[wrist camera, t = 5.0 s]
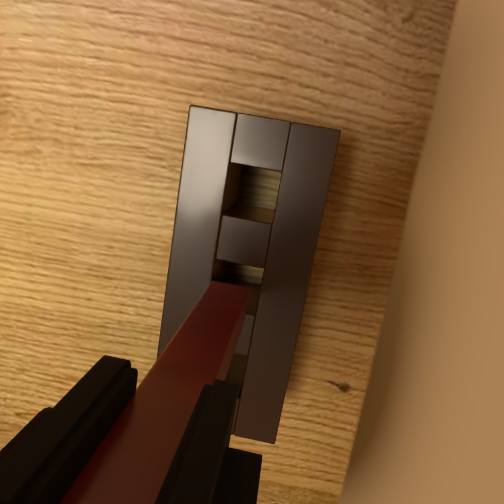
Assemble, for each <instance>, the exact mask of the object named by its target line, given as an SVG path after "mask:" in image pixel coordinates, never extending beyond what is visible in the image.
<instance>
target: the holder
mask: <svg viewBox="0 0 504 504" xmlns="http://www.w3.org/2000/svg"><path fill="white" fill-rule="evenodd" d="M340 133H341V130H338V129H332V128H326V127H321V126H315V125H309V124H303V123H297V122H290V121H285V120H280V119H274V118H268V117H262V116H256V115H250V114H244V113H236V112H232V111H226V110H220V109H214V108H209V107H203V106H197V105H190V106H189V114H188V121H187V129H186V137H185V145H184V152H183V160H182V168H181V175H180V183H179V191H178V198H177V206H176V214H175V222H174V229H173V237H172V245H171V252H170V260H169V268H168V275H167V283H166V291H165V299H164V306H163V314H162V322H161V329H160V337H159V345H158V353H157V359H158V358H159V356H160V355H161V354H162V352H163V351H164V349H165V348H166V346H167V345H168V344H169V342H170V341H171V339H172V338H173V336H174V335H175V333H176V332H177V331H178V329H179V328H180V326H181V325H182V323H183V322H184V321H185V319H186V318H187V316H188V315H189V313H190V312H191V311H192V309H193V308H194V306H195V305H196V303H197V302H198V301H199V299H200V298H201V296H202V295H203V293H204V292H205V291H206V289H207V288H208V286H209V285H210V283H211V282H212V281H217V282H222V283H227V284H232V285H237V286H242V287H247V288H249V289H250V292H249V297H248V303H247V308H246V314H245V320H244V324H243V327H242V330H241V333H240V336H239V339H238V342H237V345H236V348H235V351H234V354H233V357H232V360H231V363H230V366H229V369H228V372H227V375H226V378H225V381H229V382H233V383H238V384H240V386H239V392H238V398H237V403H236V409H235V414H234V420H233V425H232V431H231V435H233V434H234V435H235V436H239V437H243V438H248V439H252V440H257V441H262V442H266V443H271V444H275V441H276V436H277V431H278V427H279V422H280V417H281V412H282V408H283V403H284V398H285V393H286V389H287V384H288V379H289V375H290V370H291V365H292V360H293V356H294V351H295V346H296V341H297V337H298V332H299V327H300V322H301V318H302V313H303V308H304V303H305V299H306V294H307V289H308V285H309V280H310V275H311V270H312V266H313V261H314V256H315V251H316V247H317V242H318V237H319V232H320V228H321V223H322V218H323V213H324V209H325V204H326V199H327V195H328V190H329V185H330V180H331V176H332V171H333V166H334V161H335V157H336V152H337V147H338V142H339V138H340ZM243 165H247V166H253V167H258V168H264V169H269V170H275V171H282V175H281V180H280V186H279V191H278V197H277V202H276V207H275V210H270V209H264V208H259V207H253V206H248V205H242V204H237V198H238V192H239V186H240V179H241V173H242V167H243ZM227 261H228V262H233V263H238V264H243V265H248V266H254V267H259V268H264V273H263V278H262V283H261V286H259V285H254V284H249V283H244V282H239V281H234V280H229V279H224V278H225V272H226V266H227ZM156 361H157V360H156Z"/></svg>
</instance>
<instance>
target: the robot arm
mask: <svg viewBox="0 0 504 504" xmlns="http://www.w3.org/2000/svg"><path fill="white" fill-rule="evenodd" d="M137 376H138V371H137V369H135V368H131V362H130V361H129V360H126V359H121V358H116V357H111V356H107V355H104V356H103V357H102V358H101V359H100V360H99V361H98V362H97V363H96V364H95V365H94V366H93V367H92V368H91V369H90V370H89V371H88V372H87V373H86V374H85V375H84V376H83V377H82V379H81V380H80V381H79V382H78V383H77V384H76V385H75V386H74V387H73V388H72V389H71V390H70V391H69V392H68V393H67V394H66V395H65V396H64V397H63V398H62V399H61V400H60V401H59V402H58V403H57V404H56V405H55V406H54V408H51V407H48V408H44V409H43V410H42V411H40V412H39V413H38V414H37V415H36V416H35V417H34V418H33V419H32V420H31V421H30V422H29V423H28V424H27V425H26V426H25V427H24V428H23V429H22V430H21V431H20V432H19V433H18V434H17V435H16V436H15V437H14V438H13V439H12V440H11V441H10V442H9V443H8V444H7V445H6V446H5V447H4V448H3V449H2V450H1V451H0V504H59V503H60V502H61V500H62V499H63V497H64V496H65V494H66V493H67V492H68V490H69V489H70V487H71V486H72V484H73V483H74V481H75V480H76V479H77V477H78V476H79V474H80V473H81V471H82V470H83V468H84V467H85V466H86V464H87V463H88V461H89V460H90V458H91V457H92V455H93V454H94V452H95V451H96V450H97V448H98V447H99V445H100V444H101V442H102V441H103V439H104V438H105V437H106V435H107V434H108V432H109V431H110V429H111V428H112V426H113V425H114V424H115V422H116V421H117V419H118V418H119V416H120V415H121V413H122V412H123V411H124V409H125V408H126V406H127V405H128V403H129V402H130V400H131V399H132V398H133V396H134V395H135V393H136V385H137ZM239 386H240V384H238V383H233V382H229V381H224V380H219V379H215V381H214V384H213V385H210V384H204V386H203V388H202V390H201V393H200V395H199V398H198V400H197V402H196V405H195V407H194V410H193V412H192V414H191V417H190V419H189V422H188V424H187V426H186V429H185V431H184V434H183V436H182V438H181V441H180V443H179V446H178V448H177V450H176V453H175V455H174V458H173V460H172V462H171V465H170V467H169V470H168V472H167V474H166V477H165V479H164V481H163V484H162V486H161V489H160V491H159V493H158V496H157V498H156V501H155V503H154V504H256V502H257V495H258V487H259V479H260V471H261V463H262V455H261V454H256V453H252V452H247V451H243V450H238V449H234V448H229V442H230V436H231V431H232V425H233V420H234V414H235V409H236V403H237V398H238V392H239Z"/></svg>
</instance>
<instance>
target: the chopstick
mask: <svg viewBox="0 0 504 504" xmlns="http://www.w3.org/2000/svg"><path fill="white" fill-rule="evenodd" d="M249 292H250V289H249V288H247V287H242V286H237V285H232V284H227V283H222V282H217V281H212V282H211V283H210V285H209V286H208V288H207V289H206V291H205V292H204V293H203V295H202V296H201V298H200V299H199V301H198V302H197V303H196V305H195V306H194V308H193V309H192V311H191V312H190V313H189V315H188V316H187V318H186V319H185V321H184V322H183V323H182V325H181V326H180V328H179V329H178V331H177V332H176V333H175V335H174V336H173V338H172V339H171V341H170V342H169V344H168V345H167V346H166V348H165V349H164V351H163V352H162V354H161V355H160V356H159V358H158V359H157V361H156V362H155V364H154V365H153V366H152V368H151V369H150V371H149V372H148V374H147V375H146V376H145V378H144V379H143V381H142V382H141V384H140V385H139V386H138V388H137V389H136V393H135V395H134V396H133V398H132V399H131V400H130V402H129V403H128V405H127V406H126V408H125V409H124V411H123V412H122V413H121V415H120V416H119V418H118V419H117V421H116V422H115V424H114V425H113V426H112V428H111V429H110V431H109V432H108V434H107V435H106V437H105V438H104V439H103V441H102V442H101V444H100V445H99V447H98V448H97V450H96V451H95V452H94V454H93V455H92V457H91V458H90V460H89V461H88V463H87V464H86V466H85V467H84V468H83V470H82V471H81V473H80V474H79V476H78V477H77V479H76V480H75V481H74V483H73V484H72V486H71V487H70V489H69V490H68V492H67V493H66V494H65V496H64V497H63V499H62V500H61V502H60V503H59V504H154V503H155V501H156V498H157V496H158V493H159V491H160V489H161V486H162V484H163V481H164V479H165V477H166V474H167V472H168V470H169V467H170V465H171V462H172V460H173V458H174V455H175V453H176V450H177V448H178V446H179V443H180V441H181V438H182V436H183V434H184V431H185V429H186V426H187V424H188V422H189V419H190V417H191V414H192V412H193V410H194V407H195V405H196V402H197V400H198V398H199V395H200V393H201V390H202V388H203V386H204V384H210V385H213V384H214V381H215V379H219V380H224V381H225V378H226V375H227V372H228V369H229V366H230V363H231V360H232V357H233V354H234V351H235V348H236V345H237V342H238V339H239V336H240V333H241V330H242V327H243V324H244V320H245V314H246V308H247V303H248V297H249Z"/></svg>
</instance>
